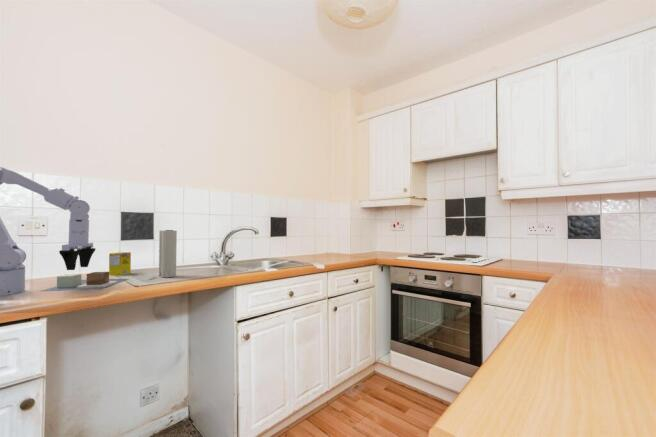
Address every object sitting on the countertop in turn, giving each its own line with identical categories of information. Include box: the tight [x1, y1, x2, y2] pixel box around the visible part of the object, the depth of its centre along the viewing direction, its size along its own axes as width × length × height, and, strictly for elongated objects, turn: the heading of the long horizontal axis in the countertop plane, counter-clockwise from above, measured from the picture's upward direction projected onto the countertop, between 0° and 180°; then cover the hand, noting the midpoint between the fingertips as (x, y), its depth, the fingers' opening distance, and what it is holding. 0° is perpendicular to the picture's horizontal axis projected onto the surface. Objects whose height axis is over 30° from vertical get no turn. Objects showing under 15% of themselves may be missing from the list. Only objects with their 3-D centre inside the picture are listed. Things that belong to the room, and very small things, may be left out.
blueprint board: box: [41, 278, 129, 292], centre depth 114 cm, size 21×19×2 cm
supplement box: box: [108, 251, 132, 276], centre depth 137 cm, size 6×6×11 cm
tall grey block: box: [158, 229, 178, 278], centre depth 137 cm, size 7×6×21 cm
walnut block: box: [86, 271, 110, 285], centre depth 113 cm, size 5×5×4 cm
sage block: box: [56, 273, 82, 288], centre depth 111 cm, size 5×5×4 cm
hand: (77, 268), depth 111 cm, fingers open, 7 cm apart
